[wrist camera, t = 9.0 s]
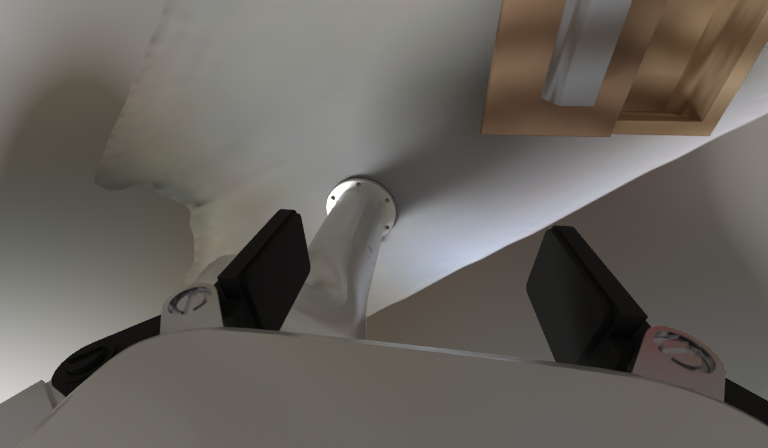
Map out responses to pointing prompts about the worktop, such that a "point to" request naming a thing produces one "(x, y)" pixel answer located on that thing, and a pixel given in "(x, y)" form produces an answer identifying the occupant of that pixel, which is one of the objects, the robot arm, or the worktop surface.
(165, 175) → the worktop surface
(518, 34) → the lid
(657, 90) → the wooden box
